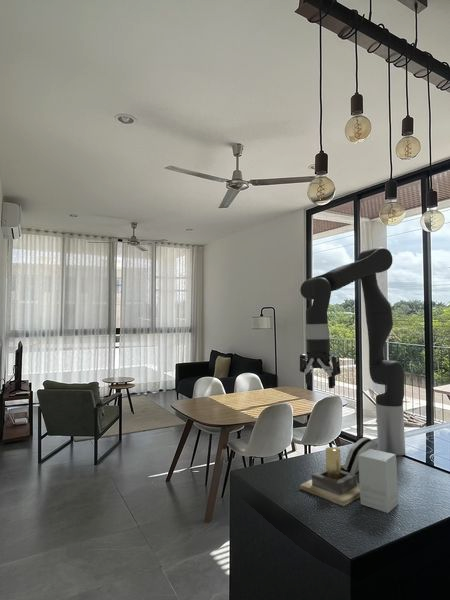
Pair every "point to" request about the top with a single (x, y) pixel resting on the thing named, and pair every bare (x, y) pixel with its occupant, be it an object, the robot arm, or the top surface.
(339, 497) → the socket board
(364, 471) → the supplement box
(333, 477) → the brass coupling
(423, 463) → the top surface
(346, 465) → the white black curved block
